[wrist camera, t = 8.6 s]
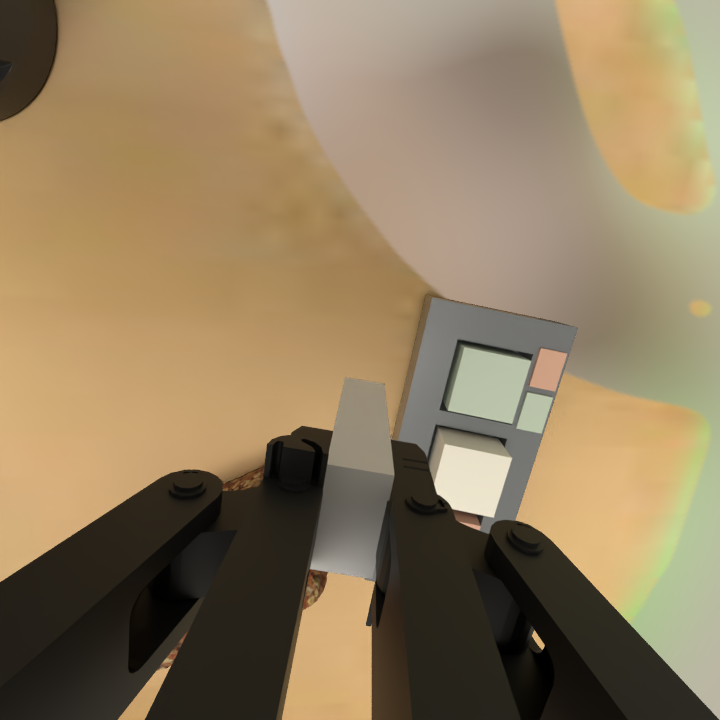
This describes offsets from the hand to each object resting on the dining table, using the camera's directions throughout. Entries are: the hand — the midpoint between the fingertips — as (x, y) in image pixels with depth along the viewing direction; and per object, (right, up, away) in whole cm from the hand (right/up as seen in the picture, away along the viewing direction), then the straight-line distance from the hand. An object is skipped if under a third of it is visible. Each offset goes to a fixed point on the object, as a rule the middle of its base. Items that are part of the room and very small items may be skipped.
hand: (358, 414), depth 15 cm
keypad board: (+8, -6, +21) cm, 23 cm away
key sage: (+10, +1, +18) cm, 20 cm away
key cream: (+8, -6, +18) cm, 21 cm away
